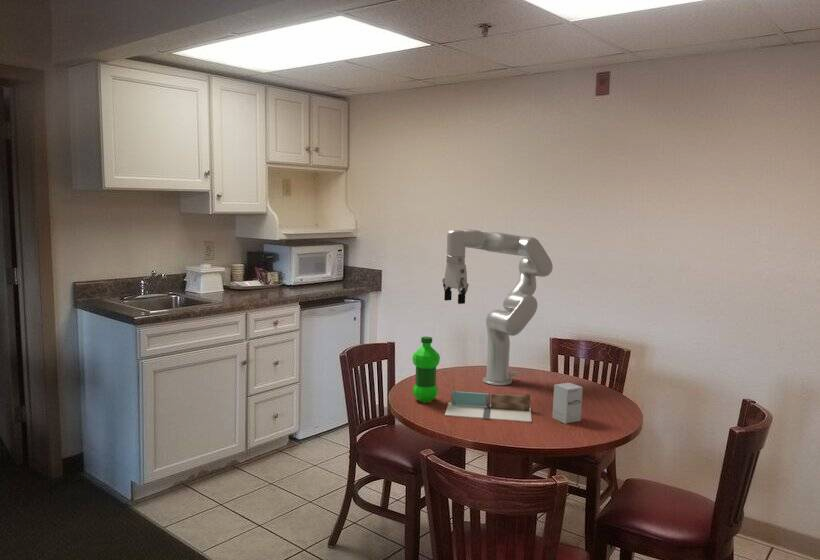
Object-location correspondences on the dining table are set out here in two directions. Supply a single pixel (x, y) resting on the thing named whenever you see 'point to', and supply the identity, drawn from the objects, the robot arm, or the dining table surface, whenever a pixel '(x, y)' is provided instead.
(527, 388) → the dining table surface
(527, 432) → the dining table surface
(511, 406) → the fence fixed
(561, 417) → the supplement box
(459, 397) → the teal bar
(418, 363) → the plastic bottle
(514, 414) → the card
